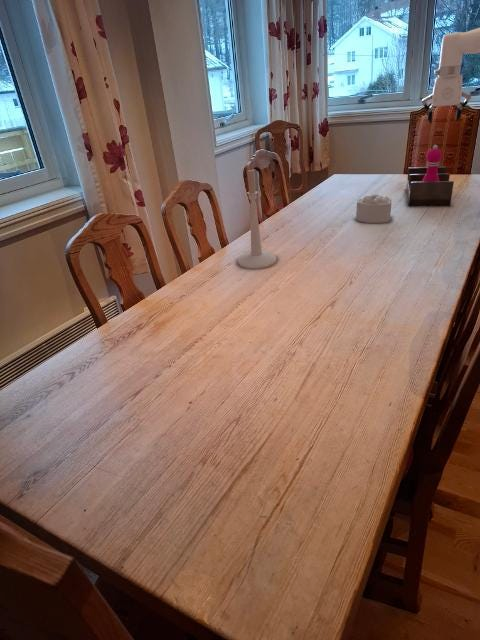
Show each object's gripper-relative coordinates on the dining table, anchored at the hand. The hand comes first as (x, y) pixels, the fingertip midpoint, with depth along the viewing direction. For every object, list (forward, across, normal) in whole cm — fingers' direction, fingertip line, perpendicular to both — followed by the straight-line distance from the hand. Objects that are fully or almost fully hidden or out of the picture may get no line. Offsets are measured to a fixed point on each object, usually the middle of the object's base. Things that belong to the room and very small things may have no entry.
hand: (443, 121), depth 169 cm
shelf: (+31, -2, +6) cm, 32 cm away
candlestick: (+30, -61, -71) cm, 98 cm away
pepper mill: (+28, -2, -1) cm, 29 cm away
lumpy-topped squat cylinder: (+31, -24, -25) cm, 47 cm away
